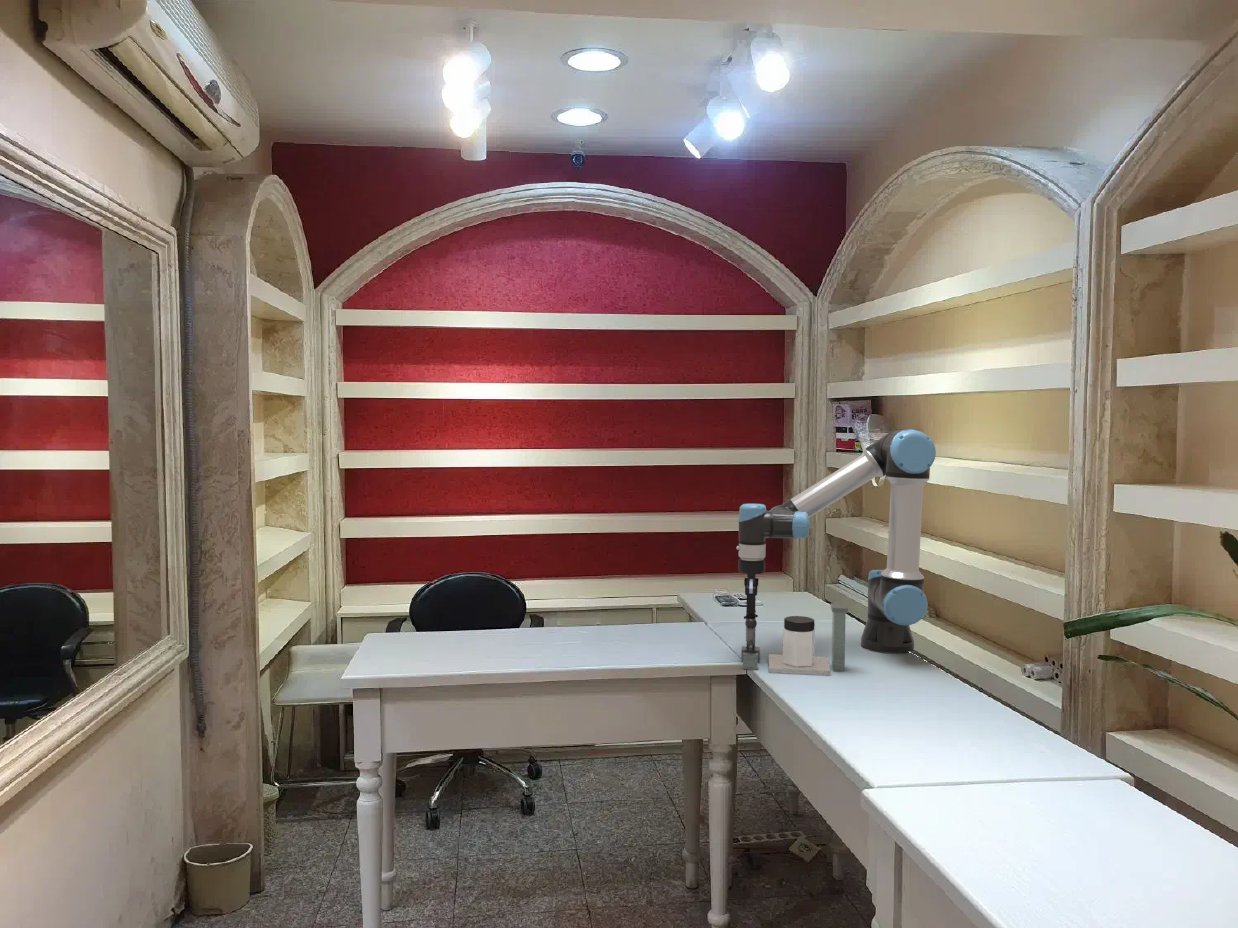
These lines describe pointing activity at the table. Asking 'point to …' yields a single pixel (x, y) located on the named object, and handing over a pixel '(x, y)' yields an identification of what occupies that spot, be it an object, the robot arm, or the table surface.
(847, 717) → the table surface
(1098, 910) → the table surface
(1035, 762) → the table surface
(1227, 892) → the table surface
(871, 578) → the robot arm
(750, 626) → the lever
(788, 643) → the jar
